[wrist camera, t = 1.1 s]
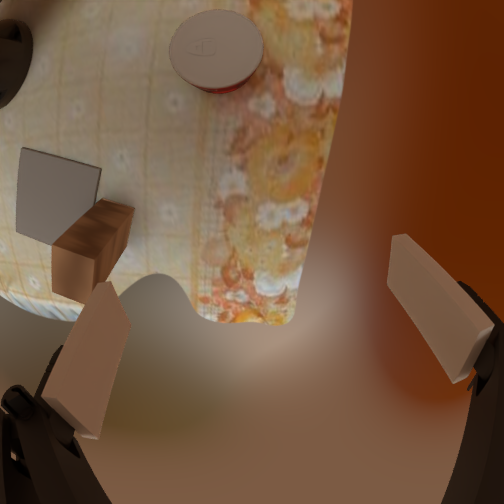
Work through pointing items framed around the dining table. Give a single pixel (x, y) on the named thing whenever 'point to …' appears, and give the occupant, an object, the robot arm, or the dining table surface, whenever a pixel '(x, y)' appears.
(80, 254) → the walnut block
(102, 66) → the dining table surface
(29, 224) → the mat
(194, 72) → the canned food
